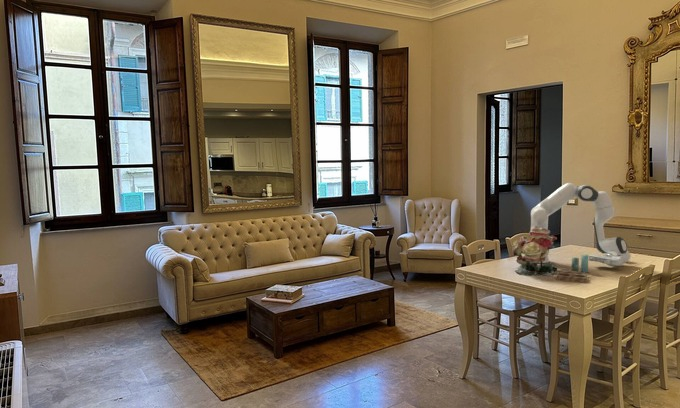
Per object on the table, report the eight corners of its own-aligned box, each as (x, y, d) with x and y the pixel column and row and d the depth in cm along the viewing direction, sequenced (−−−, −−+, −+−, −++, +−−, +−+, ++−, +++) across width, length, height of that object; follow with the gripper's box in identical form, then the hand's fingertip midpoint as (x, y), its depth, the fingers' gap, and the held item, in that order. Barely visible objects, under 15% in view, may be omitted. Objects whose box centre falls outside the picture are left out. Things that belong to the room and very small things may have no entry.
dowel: (580, 272, 302) (581, 255, 301) (581, 271, 306) (581, 254, 305) (587, 273, 300) (588, 256, 299) (588, 271, 304) (588, 255, 303)
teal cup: (558, 274, 299) (559, 258, 298) (559, 272, 305) (560, 255, 304) (580, 276, 293) (580, 259, 292) (580, 273, 299) (581, 257, 298)
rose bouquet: (510, 266, 324) (511, 223, 321) (557, 269, 313) (558, 224, 310) (508, 275, 300) (509, 228, 298) (559, 278, 289) (560, 229, 286)
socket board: (556, 279, 285) (556, 275, 285) (558, 276, 294) (558, 272, 294) (586, 282, 278) (586, 278, 277) (587, 278, 286) (587, 274, 286)
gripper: (596, 251, 322) (582, 253, 316) (625, 256, 304) (611, 258, 298) (596, 260, 323) (582, 262, 317) (625, 266, 305) (611, 268, 299)
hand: (596, 261), depth 307 cm, fingers open, 8 cm apart
